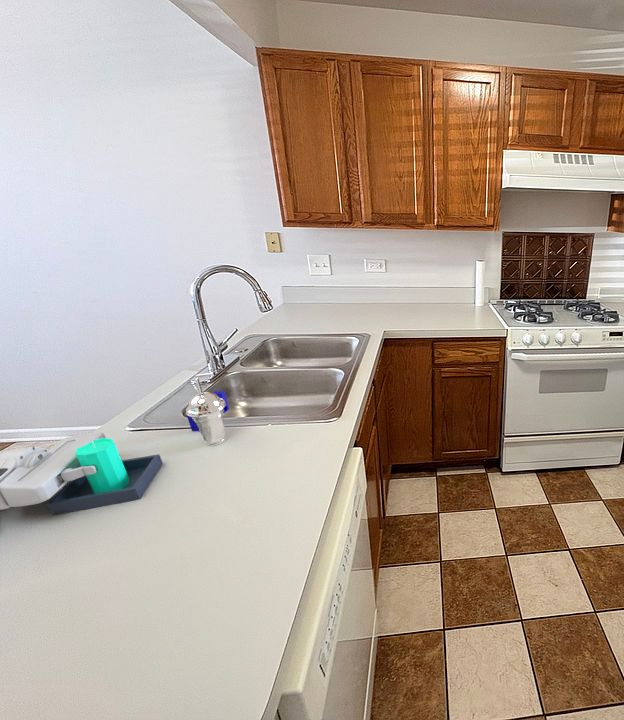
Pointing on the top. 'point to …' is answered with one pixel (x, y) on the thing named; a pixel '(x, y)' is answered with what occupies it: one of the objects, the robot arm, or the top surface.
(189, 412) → the cup with straw
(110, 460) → the candle
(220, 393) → the cable clip
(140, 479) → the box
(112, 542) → the top surface
